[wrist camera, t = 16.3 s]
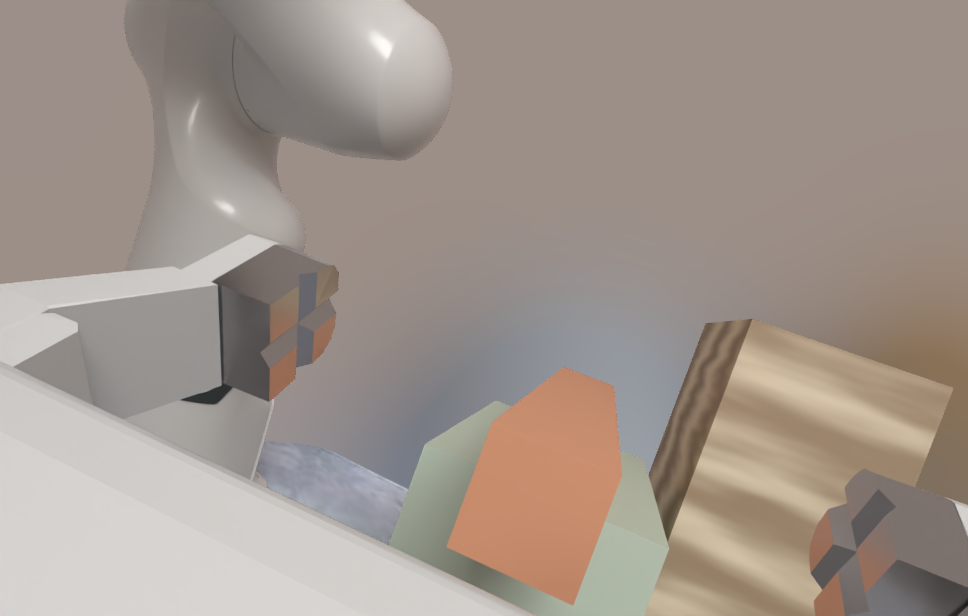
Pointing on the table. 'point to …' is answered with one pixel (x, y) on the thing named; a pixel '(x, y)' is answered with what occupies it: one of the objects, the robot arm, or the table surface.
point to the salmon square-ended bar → (544, 485)
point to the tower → (773, 463)
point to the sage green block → (598, 606)
